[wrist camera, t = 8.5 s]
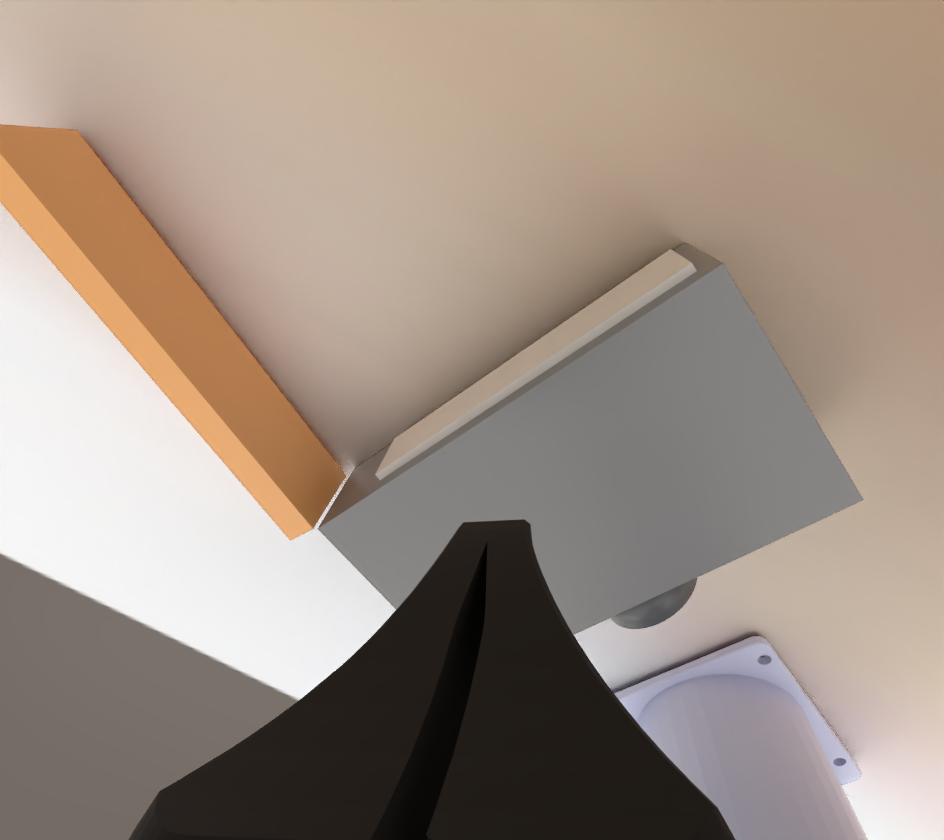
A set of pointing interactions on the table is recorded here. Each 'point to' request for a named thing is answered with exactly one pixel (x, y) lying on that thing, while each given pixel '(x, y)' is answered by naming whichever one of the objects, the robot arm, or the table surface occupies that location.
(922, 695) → the table surface
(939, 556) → the table surface
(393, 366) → the table surface
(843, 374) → the table surface
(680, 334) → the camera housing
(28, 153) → the orange piece
